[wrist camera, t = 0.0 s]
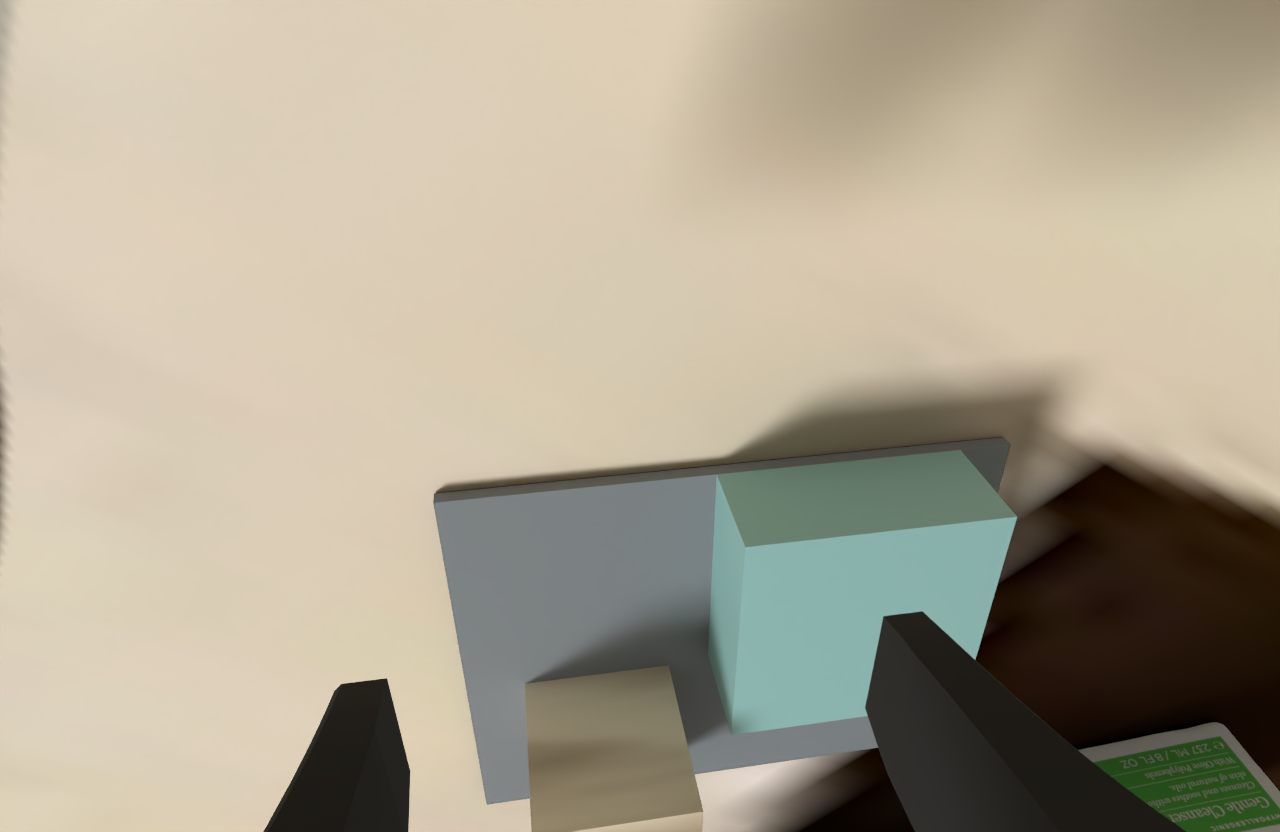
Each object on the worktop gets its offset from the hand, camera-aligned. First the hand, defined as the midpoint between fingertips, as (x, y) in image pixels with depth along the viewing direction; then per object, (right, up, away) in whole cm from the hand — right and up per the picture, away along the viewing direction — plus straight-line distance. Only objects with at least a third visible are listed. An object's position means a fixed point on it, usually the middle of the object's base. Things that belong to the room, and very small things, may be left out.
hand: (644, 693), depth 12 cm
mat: (+2, -3, +14) cm, 15 cm away
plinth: (+5, 0, +13) cm, 14 cm away
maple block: (-1, -6, +15) cm, 16 cm away
